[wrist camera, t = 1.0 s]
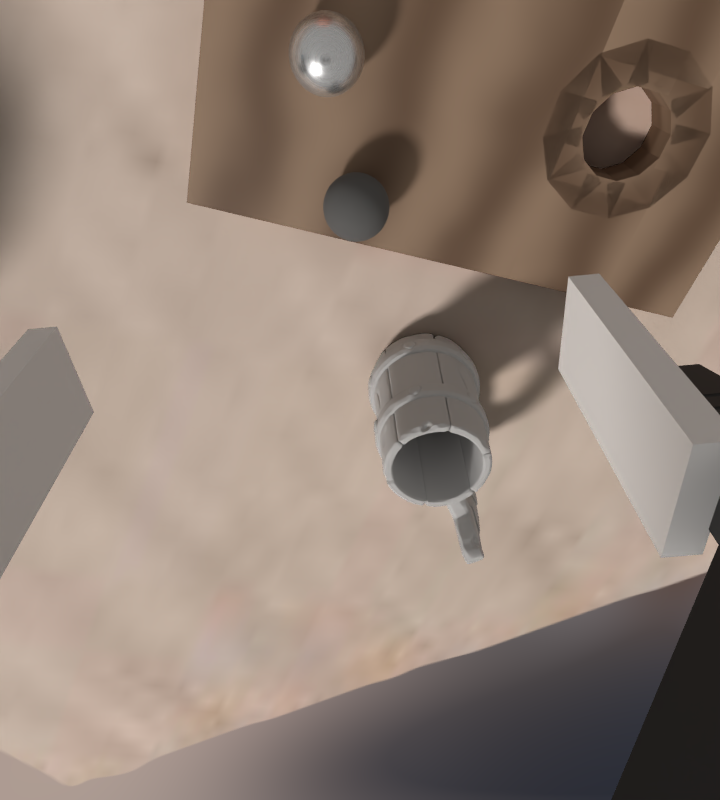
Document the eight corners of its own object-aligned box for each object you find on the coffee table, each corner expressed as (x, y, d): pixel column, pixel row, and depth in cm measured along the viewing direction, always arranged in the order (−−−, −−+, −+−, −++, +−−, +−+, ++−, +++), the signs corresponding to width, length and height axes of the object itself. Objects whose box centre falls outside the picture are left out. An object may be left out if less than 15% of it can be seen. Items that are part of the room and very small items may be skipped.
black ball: (318, 220, 34) (315, 243, 31) (331, 157, 32) (330, 175, 29) (378, 234, 35) (380, 258, 32) (395, 173, 33) (399, 192, 30)
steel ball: (286, 80, 30) (279, 91, 27) (299, -2, 28) (293, 1, 25) (354, 99, 31) (354, 112, 28) (372, 19, 29) (374, 25, 26)
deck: (196, 189, 36) (186, 202, 34) (236, -233, 26) (226, -251, 24) (656, 299, 40) (672, 317, 38) (842, -23, 30) (878, -22, 28)
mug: (455, 311, 41) (488, 420, 31) (504, 438, 47) (544, 562, 37) (350, 352, 42) (350, 467, 32) (411, 469, 48) (426, 595, 39)
